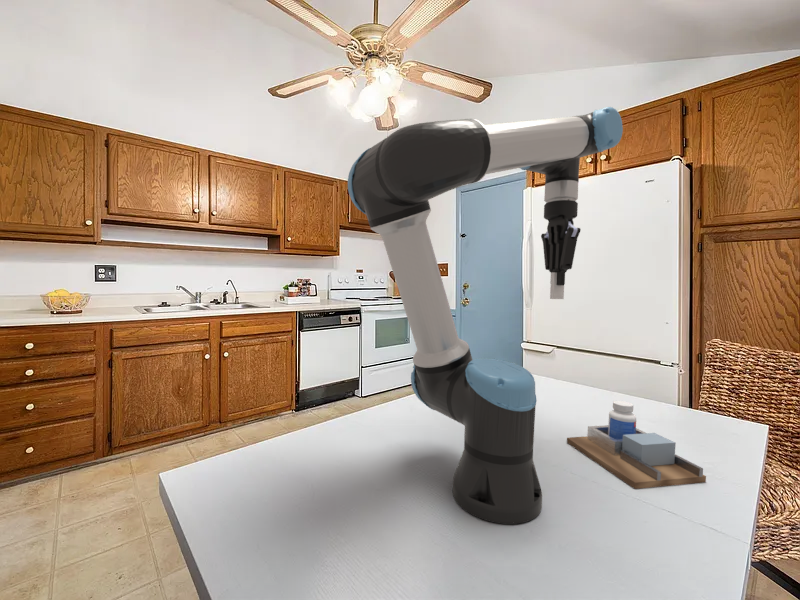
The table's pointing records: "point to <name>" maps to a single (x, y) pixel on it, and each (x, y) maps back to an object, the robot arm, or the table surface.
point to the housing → (650, 448)
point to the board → (629, 473)
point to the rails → (654, 472)
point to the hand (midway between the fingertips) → (556, 298)
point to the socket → (606, 439)
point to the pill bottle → (621, 420)
